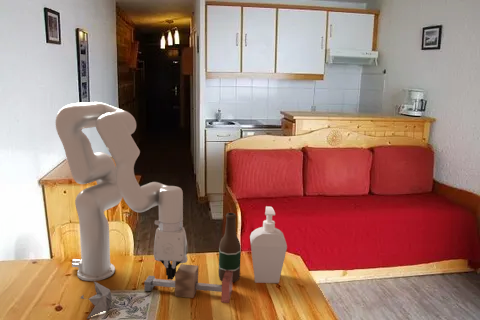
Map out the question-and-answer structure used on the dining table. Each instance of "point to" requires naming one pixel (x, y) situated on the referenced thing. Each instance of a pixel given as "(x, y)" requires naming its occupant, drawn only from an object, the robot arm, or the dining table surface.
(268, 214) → the soap bottle
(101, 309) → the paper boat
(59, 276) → the dining table surface
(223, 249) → the beer bottle
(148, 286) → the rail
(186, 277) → the block
